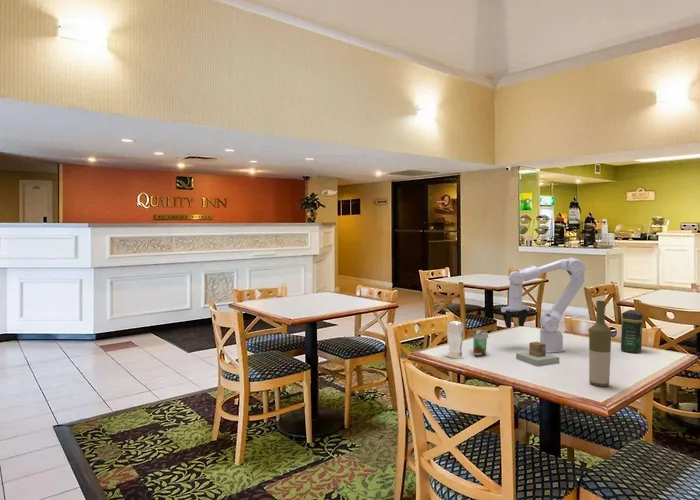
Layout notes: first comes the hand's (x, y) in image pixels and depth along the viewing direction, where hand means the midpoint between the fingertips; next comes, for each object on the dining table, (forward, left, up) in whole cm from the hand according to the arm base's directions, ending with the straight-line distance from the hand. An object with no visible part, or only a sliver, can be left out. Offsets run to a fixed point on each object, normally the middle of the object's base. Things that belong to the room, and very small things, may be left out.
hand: (514, 326), depth 219 cm
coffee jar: (-46, +23, -11) cm, 53 cm away
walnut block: (+5, +19, -8) cm, 21 cm away
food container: (+20, +1, -11) cm, 22 cm away
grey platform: (+5, +19, -11) cm, 23 cm away
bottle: (+7, +51, -11) cm, 53 cm away
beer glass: (+33, 0, -11) cm, 34 cm away
